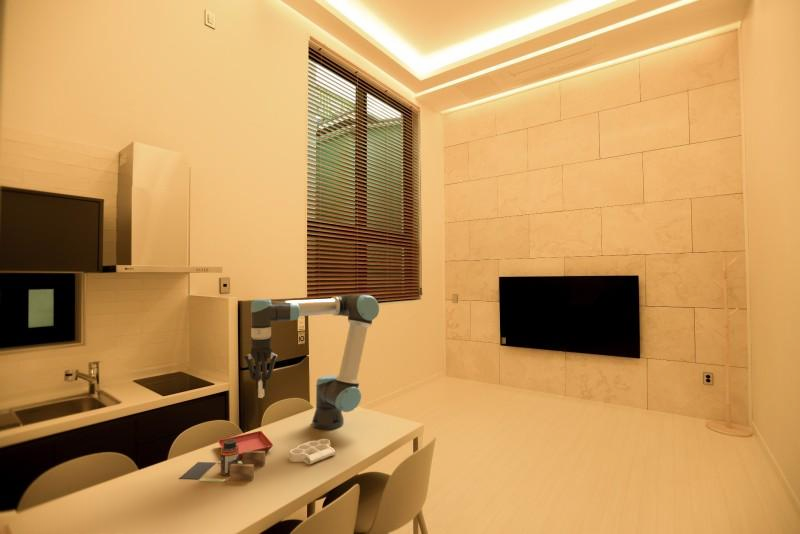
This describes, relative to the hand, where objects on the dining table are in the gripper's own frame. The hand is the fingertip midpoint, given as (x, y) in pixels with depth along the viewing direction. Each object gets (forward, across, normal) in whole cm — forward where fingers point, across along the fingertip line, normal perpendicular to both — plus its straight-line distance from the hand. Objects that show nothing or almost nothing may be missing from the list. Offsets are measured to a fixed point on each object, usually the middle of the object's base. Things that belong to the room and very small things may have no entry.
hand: (261, 396), depth 154 cm
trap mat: (+23, -19, -12) cm, 32 cm away
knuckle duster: (+25, +20, +1) cm, 32 cm away
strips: (+23, -10, -13) cm, 28 cm away
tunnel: (+23, 0, -13) cm, 27 cm away
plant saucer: (+24, -9, +5) cm, 26 cm away
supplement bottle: (+23, -7, -13) cm, 28 cm away
